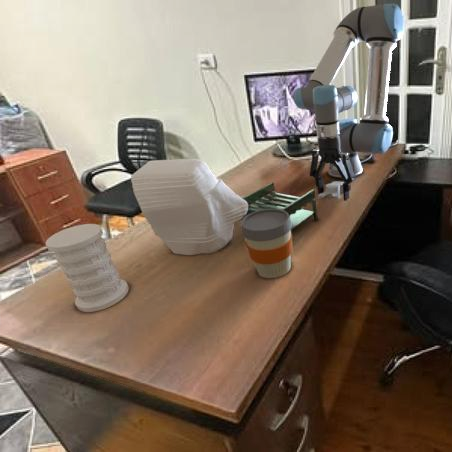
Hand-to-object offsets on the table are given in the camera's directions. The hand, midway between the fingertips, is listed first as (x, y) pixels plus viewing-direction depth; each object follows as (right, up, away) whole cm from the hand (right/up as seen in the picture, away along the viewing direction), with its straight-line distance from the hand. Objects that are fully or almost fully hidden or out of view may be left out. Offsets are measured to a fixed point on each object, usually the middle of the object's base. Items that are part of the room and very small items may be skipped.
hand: (333, 196), depth 127 cm
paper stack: (-41, -17, -19) cm, 48 cm away
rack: (-17, -10, -10) cm, 22 cm away
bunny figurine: (0, 0, 0) cm, 1 cm away
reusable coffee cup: (-16, -22, -32) cm, 42 cm away
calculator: (-31, -5, +2) cm, 32 cm away
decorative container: (-58, -29, -38) cm, 75 cm away
